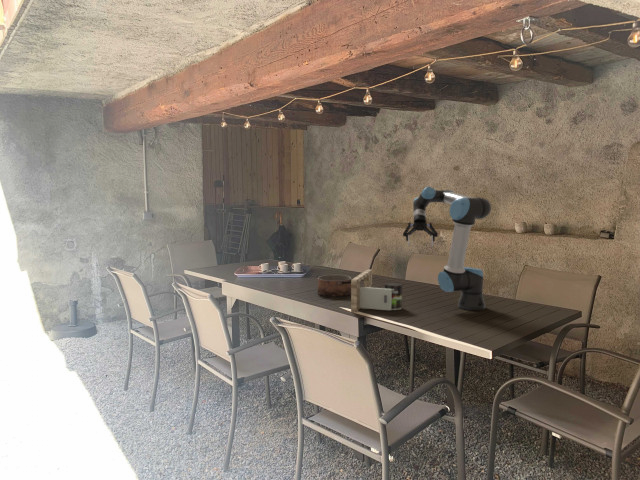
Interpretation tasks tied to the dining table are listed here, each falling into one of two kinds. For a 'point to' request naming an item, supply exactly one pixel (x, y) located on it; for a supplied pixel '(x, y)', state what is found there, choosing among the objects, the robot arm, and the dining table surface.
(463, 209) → the robot arm
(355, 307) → the door frame
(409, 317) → the dining table surface
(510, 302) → the dining table surface
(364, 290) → the door
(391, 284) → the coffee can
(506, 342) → the dining table surface
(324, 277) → the cooking pot
